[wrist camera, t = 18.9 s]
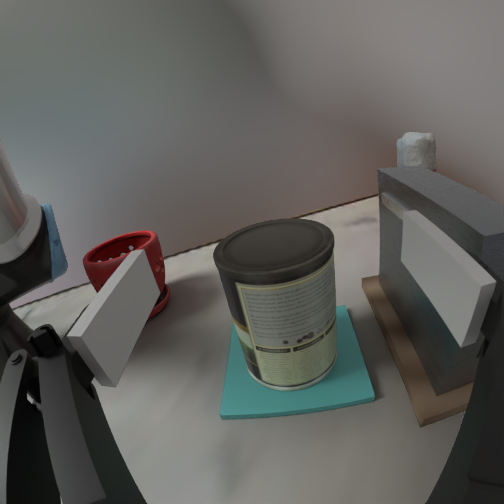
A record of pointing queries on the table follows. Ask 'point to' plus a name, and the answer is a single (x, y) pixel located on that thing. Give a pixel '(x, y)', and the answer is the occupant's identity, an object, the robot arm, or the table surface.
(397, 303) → the mounted unit
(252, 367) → the coffee can
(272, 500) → the table surface
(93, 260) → the plant pot
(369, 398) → the pad
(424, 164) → the spray can
